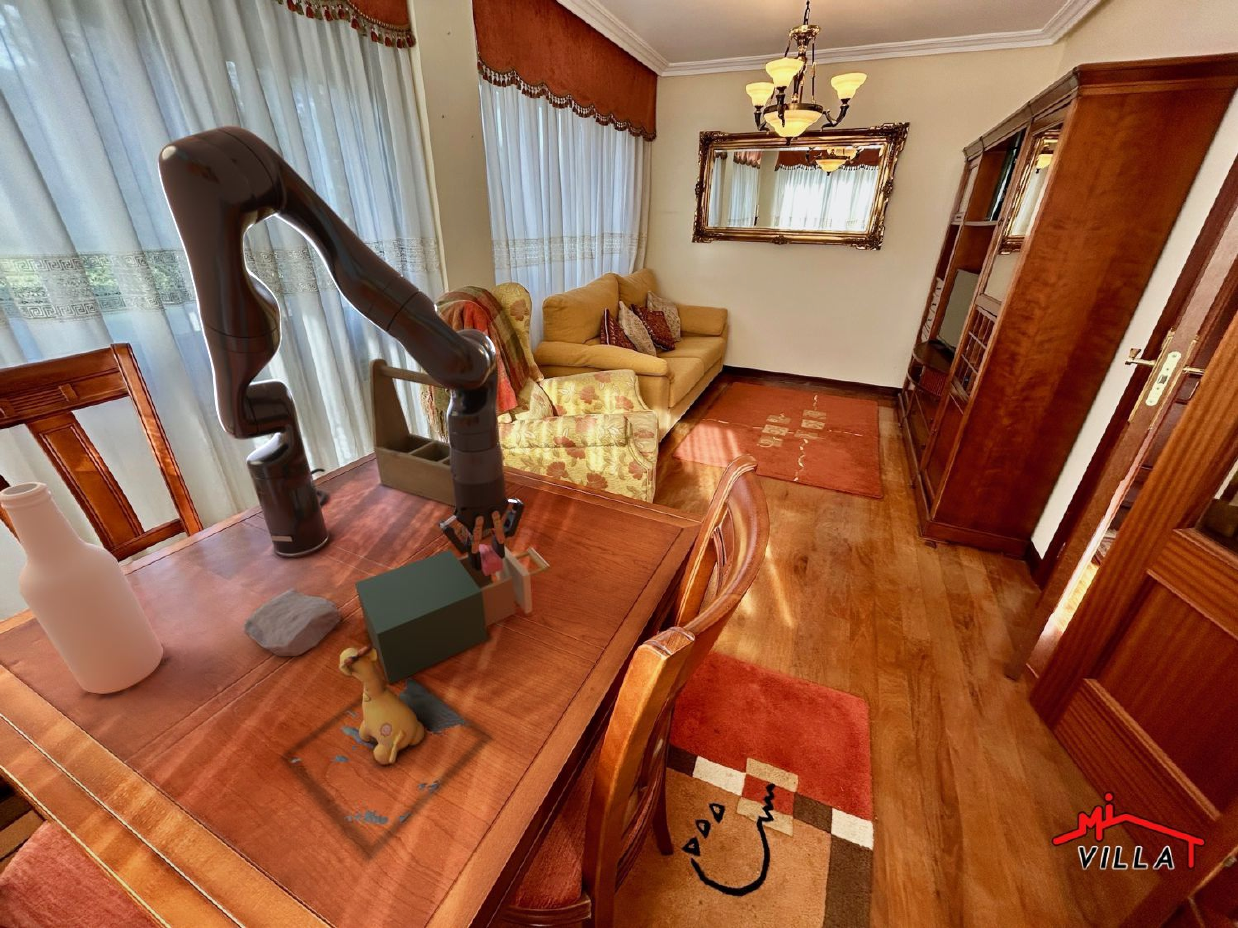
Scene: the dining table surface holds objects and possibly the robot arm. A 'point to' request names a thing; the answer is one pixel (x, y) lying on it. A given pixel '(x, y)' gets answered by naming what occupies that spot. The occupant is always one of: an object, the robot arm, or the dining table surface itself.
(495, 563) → the red ridged block
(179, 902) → the dining table surface
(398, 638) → the cabinet
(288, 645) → the stone block
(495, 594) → the drawer
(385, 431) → the caddy
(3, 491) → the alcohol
